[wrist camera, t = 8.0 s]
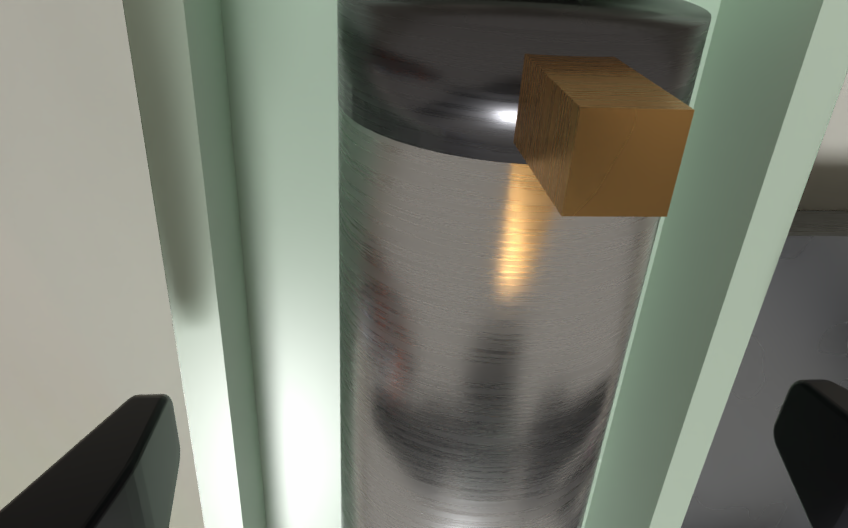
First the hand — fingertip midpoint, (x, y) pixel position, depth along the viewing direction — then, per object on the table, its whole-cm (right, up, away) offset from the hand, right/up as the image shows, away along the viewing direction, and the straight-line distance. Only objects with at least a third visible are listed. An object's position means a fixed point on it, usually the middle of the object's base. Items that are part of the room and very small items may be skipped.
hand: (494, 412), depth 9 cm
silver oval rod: (0, -1, +5) cm, 5 cm away
